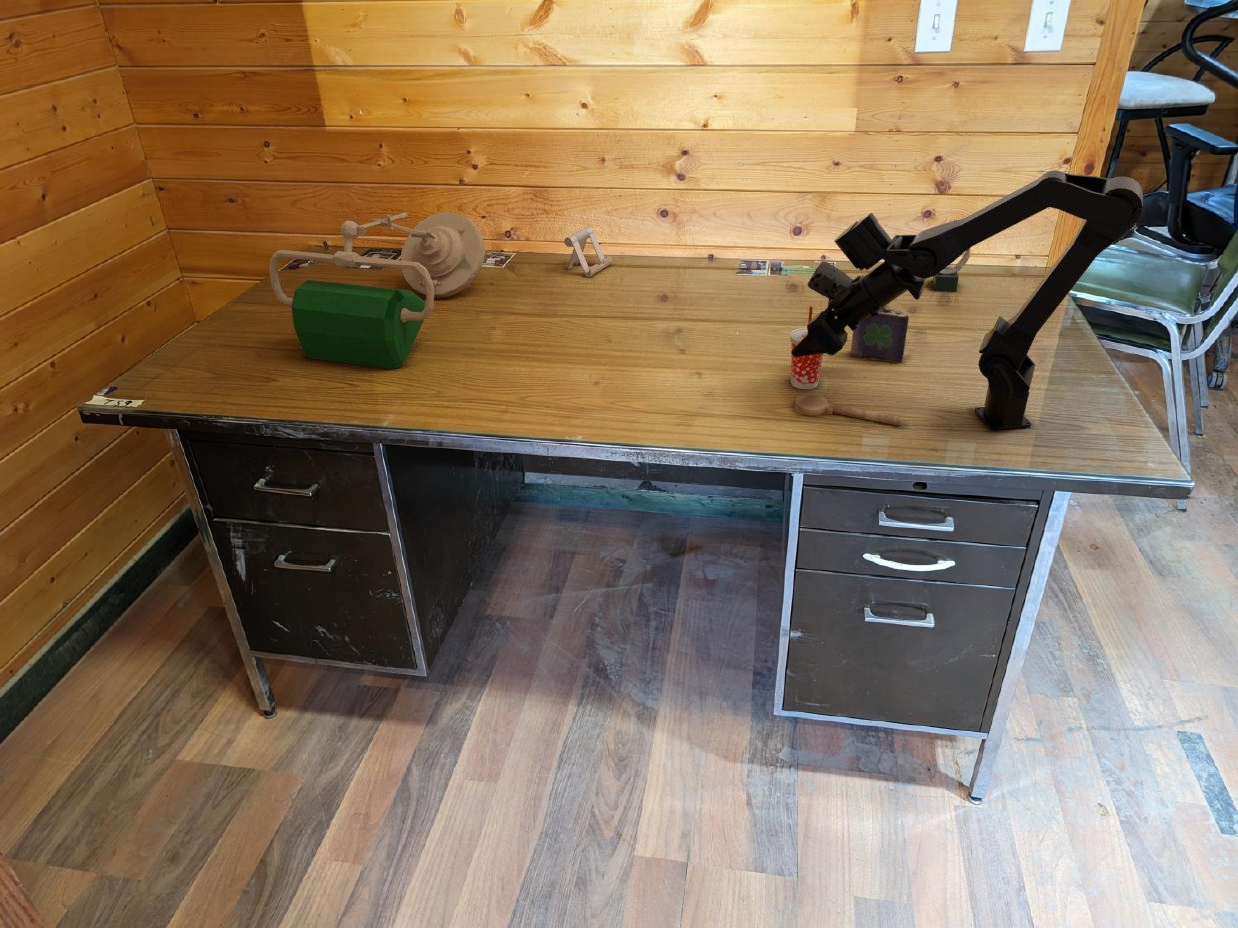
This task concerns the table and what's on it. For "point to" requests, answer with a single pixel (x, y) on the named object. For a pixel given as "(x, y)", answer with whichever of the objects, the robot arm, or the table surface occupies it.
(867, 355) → the flask
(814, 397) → the spoon
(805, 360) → the beverage cup
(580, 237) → the tablet stand
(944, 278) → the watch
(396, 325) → the banker's lamp
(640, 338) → the table surface
